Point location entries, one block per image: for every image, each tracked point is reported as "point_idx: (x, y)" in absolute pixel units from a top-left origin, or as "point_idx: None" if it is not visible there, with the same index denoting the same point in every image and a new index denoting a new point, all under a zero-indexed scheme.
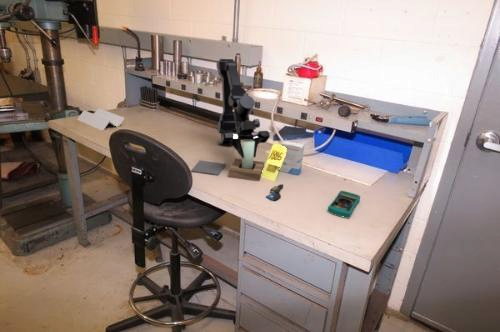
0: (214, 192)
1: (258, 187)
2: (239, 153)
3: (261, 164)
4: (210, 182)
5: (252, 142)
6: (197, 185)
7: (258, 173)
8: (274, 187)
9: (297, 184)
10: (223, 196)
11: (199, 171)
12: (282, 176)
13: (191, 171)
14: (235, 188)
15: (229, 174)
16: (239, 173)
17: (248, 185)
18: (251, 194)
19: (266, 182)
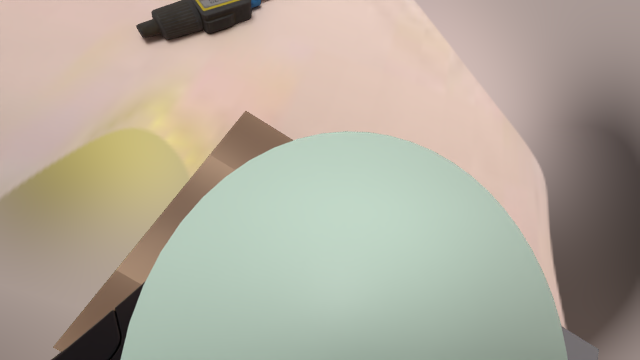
0: (480, 102)
1: (284, 77)
2: None
3: (130, 284)
4: (494, 193)
5: (269, 236)
6: (542, 179)
7: (252, 121)
8: (218, 5)
9: (19, 27)
10: (450, 64)
11: None
12: (34, 154)
13: (589, 345)
14: (395, 104)
15: None
16: None
17: (327, 111)
18: (341, 37)
19: (211, 111)
